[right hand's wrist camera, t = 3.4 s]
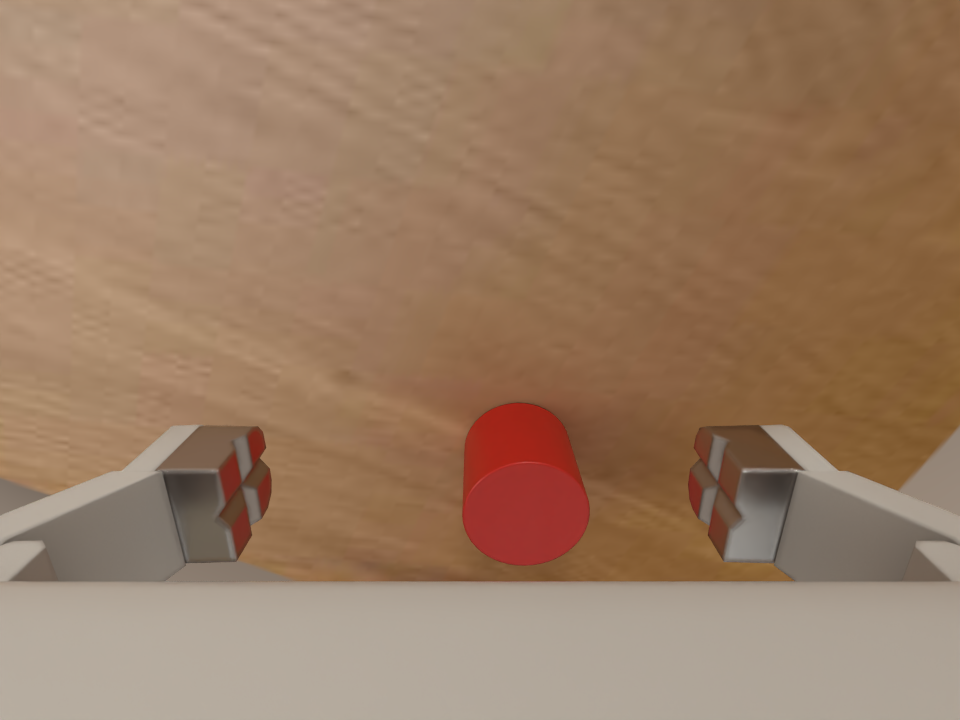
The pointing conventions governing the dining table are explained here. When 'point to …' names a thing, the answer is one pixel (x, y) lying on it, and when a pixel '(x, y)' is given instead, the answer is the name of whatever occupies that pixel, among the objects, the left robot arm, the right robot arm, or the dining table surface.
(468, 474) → the canister
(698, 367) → the dining table surface
